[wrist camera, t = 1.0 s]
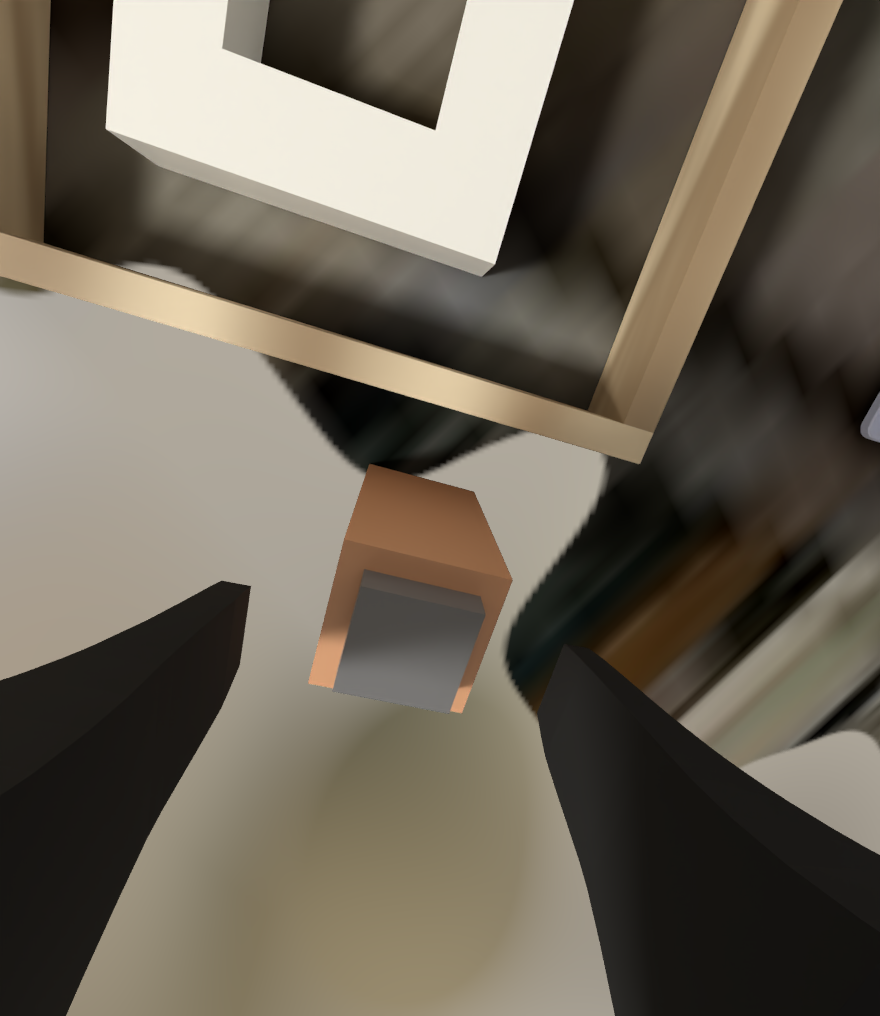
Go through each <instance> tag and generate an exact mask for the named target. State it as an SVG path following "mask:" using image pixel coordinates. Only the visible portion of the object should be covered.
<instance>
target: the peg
mask: <svg viewBox="0 0 880 1016" xmlns="http://www.w3.org/2000/svg"><path fill="white" fill-rule="evenodd" d="M511 583H512V578H511V575H510V573H509V571H508V568H507V566H506V564H505V562H504V559H503V557H502V555H501V552H500V550H499V548H498V546H497V543H496V541H495V539H494V536H493V534H492V532H491V530H490V527H489V525H488V523H487V521H486V518H485V516H484V514H483V511H482V509H481V507H480V504H479V502H478V500H477V498H476V495H475V493H474V492H473V491H469V490H465V489H462V488H458V487H454V486H451V485H447V484H443V483H439V482H436V481H431V480H428V479H425V478H421V477H417V476H413V475H410V474H406V473H402V472H399V471H395V470H391V469H387V468H384V467H380V466H376V465H373V464H369V467H368V470H367V473H366V476H365V479H364V482H363V485H362V488H361V491H360V493H359V496H358V499H357V503H356V505H355V508H354V512H353V515H352V518H351V520H350V523H349V526H348V529H347V532H346V535H345V538H344V542H343V546H342V550H341V554H340V559H339V562H338V566H337V570H336V574H335V578H334V582H333V586H332V590H331V594H330V598H329V602H328V606H327V610H326V614H325V618H324V622H323V626H322V630H321V634H320V638H319V642H318V646H317V650H316V654H315V658H314V662H313V666H312V670H311V674H310V678H309V682H308V683H309V684H314V685H319V686H324V687H329V688H333V692H338V693H343V694H349V695H354V696H359V697H364V698H369V699H375V700H380V701H385V702H390V703H395V704H400V705H406V706H411V707H416V708H421V709H426V710H431V711H437V712H442V713H447V714H449V712H450V711H453V712H458V713H462V711H463V709H464V706H465V704H466V701H467V698H468V695H469V693H470V690H471V688H472V685H473V683H474V680H475V677H476V675H477V672H478V670H479V667H480V664H481V662H482V659H483V656H484V654H485V651H486V649H487V646H488V643H489V641H490V638H491V635H492V633H493V630H494V628H495V625H496V622H497V620H498V617H499V614H500V612H501V609H502V606H503V604H504V601H505V599H506V596H507V594H508V591H509V588H510V585H511Z"/></svg>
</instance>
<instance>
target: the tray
mask: <svg viewBox="0 0 880 1016" xmlns="http://www.w3.org/2000/svg"><path fill="white" fill-rule="evenodd" d="M842 1H843V0H747V2H746V4H745V7H744V9H743V12H742V14H741V17H740V20H739V22H738V25H737V27H736V30H735V32H734V35H733V38H732V40H731V43H730V45H729V48H728V50H727V53H726V56H725V58H724V61H723V63H722V66H721V68H720V71H719V74H718V76H717V79H716V81H715V84H714V86H713V89H712V92H711V94H710V97H709V99H708V102H707V104H706V107H705V110H704V112H703V115H702V117H701V120H700V123H699V125H698V128H697V130H696V133H695V135H694V138H693V141H692V143H691V146H690V148H689V151H688V153H687V156H686V159H685V161H684V164H683V166H682V169H681V171H680V174H679V177H678V179H677V182H676V184H675V187H674V189H673V192H672V195H671V197H670V200H669V202H668V205H667V207H666V210H665V213H664V215H663V218H662V220H661V223H660V225H659V228H658V231H657V233H656V236H655V238H654V241H653V243H652V246H651V249H650V251H649V254H648V256H647V259H646V262H645V264H644V267H643V269H642V272H641V274H640V277H639V280H638V282H637V285H636V287H635V290H634V292H633V295H632V298H631V300H630V303H629V305H628V308H627V310H626V313H625V316H624V318H623V321H622V323H621V326H620V328H619V331H618V334H617V336H616V339H615V341H614V344H613V346H612V349H611V352H610V354H609V357H608V359H607V362H606V364H605V367H604V370H603V372H602V375H601V377H600V380H599V382H598V385H597V388H596V390H595V393H594V395H593V398H592V401H591V403H590V406H589V408H588V411H587V410H584V409H581V408H577V407H574V406H571V405H568V404H564V403H561V402H558V401H555V400H551V399H548V398H545V397H542V396H538V395H535V394H532V393H529V392H525V391H522V390H519V389H516V388H512V387H509V386H506V385H503V384H499V383H496V382H493V381H490V380H487V379H483V378H480V377H477V376H474V375H470V374H467V373H464V372H461V371H457V370H454V369H451V368H448V367H444V366H441V365H438V364H435V363H431V362H428V361H425V360H422V359H418V358H415V357H412V356H409V355H405V354H402V353H399V352H396V351H392V350H389V349H386V348H383V347H379V346H376V345H373V344H370V343H366V342H363V341H360V340H357V339H353V338H350V337H347V336H344V335H340V334H337V333H334V332H331V331H328V330H324V329H321V328H318V327H315V326H311V325H308V324H305V323H302V322H298V321H295V320H292V319H289V318H285V317H282V316H279V315H276V314H272V313H269V312H266V311H263V310H259V309H256V308H253V307H250V306H246V305H243V304H240V303H237V302H233V301H230V300H227V299H224V298H220V297H217V296H214V295H211V294H207V293H204V292H201V291H198V290H194V289H191V288H188V287H185V286H181V285H178V284H175V283H171V282H168V281H165V280H162V279H159V278H155V277H152V276H149V275H146V274H143V273H139V272H136V271H133V270H130V269H126V268H123V267H120V266H117V265H113V264H110V263H107V262H104V261H100V260H97V259H94V258H91V257H87V256H84V255H81V254H78V253H74V252H71V251H68V250H65V249H61V248H58V247H55V246H52V245H48V244H45V243H44V210H45V175H46V141H47V107H48V73H49V39H50V4H51V0H0V276H3V277H6V278H9V279H13V280H16V281H20V282H23V283H26V284H30V285H33V286H37V287H40V288H43V289H47V290H50V291H54V292H57V293H60V294H64V295H67V296H71V297H74V298H77V299H81V300H84V301H87V302H91V303H95V304H98V305H101V306H104V307H108V308H111V309H115V310H118V311H122V312H125V313H128V314H132V315H135V316H138V317H142V318H145V319H149V320H152V321H156V322H159V323H162V324H166V325H169V326H173V327H176V328H179V329H183V330H186V331H189V332H193V333H196V334H199V335H203V336H206V337H210V338H213V339H216V340H220V341H223V342H227V343H230V344H233V345H237V346H240V347H244V348H247V349H250V350H254V351H257V352H260V353H264V354H267V355H271V356H274V357H277V358H281V359H284V360H288V361H291V362H294V363H298V364H301V365H305V366H308V367H311V368H315V369H318V370H321V371H325V372H328V373H332V374H335V375H338V376H342V377H345V378H349V379H352V380H355V381H359V382H362V383H366V384H369V385H372V386H376V387H379V388H383V389H386V390H389V391H393V392H396V393H399V394H403V395H406V396H410V397H413V398H416V399H420V400H423V401H427V402H430V403H433V404H437V405H440V406H444V407H447V408H450V409H454V410H457V411H461V412H464V413H467V414H471V415H474V416H477V417H481V418H484V419H488V420H491V421H494V422H498V423H501V424H505V425H508V426H511V427H515V428H518V429H522V430H525V431H528V432H532V433H535V434H539V435H542V436H545V437H549V438H552V439H555V440H559V441H562V442H566V443H569V444H572V445H576V446H579V447H583V448H586V449H589V450H593V451H596V452H600V453H603V454H606V455H610V456H613V457H617V458H620V459H623V460H627V461H630V462H633V463H637V464H640V463H641V460H642V458H643V456H644V454H645V451H646V449H647V447H648V444H649V442H650V440H651V438H652V435H653V433H654V431H655V428H656V426H657V424H658V422H659V419H660V417H661V415H662V412H663V410H664V408H665V406H666V403H667V401H668V399H669V396H670V394H671V392H672V390H673V387H674V385H675V383H676V380H677V378H678V376H679V374H680V371H681V369H682V367H683V364H684V362H685V360H686V358H687V355H688V353H689V351H690V348H691V346H692V344H693V342H694V339H695V337H696V335H697V333H698V330H699V328H700V326H701V323H702V321H703V319H704V317H705V314H706V312H707V310H708V307H709V305H710V303H711V301H712V298H713V296H714V294H715V291H716V289H717V287H718V285H719V282H720V280H721V278H722V275H723V273H724V271H725V269H726V266H727V264H728V262H729V259H730V257H731V255H732V253H733V250H734V248H735V246H736V243H737V241H738V239H739V237H740V234H741V232H742V230H743V227H744V225H745V223H746V221H747V218H748V216H749V214H750V212H751V209H752V207H753V205H754V202H755V200H756V198H757V196H758V193H759V191H760V189H761V186H762V184H763V182H764V180H765V177H766V175H767V173H768V170H769V168H770V166H771V164H772V161H773V159H774V157H775V154H776V152H777V150H778V148H779V145H780V143H781V141H782V138H783V136H784V134H785V132H786V129H787V127H788V125H789V122H790V120H791V118H792V116H793V113H794V111H795V109H796V106H797V104H798V102H799V100H800V97H801V95H802V93H803V91H804V88H805V86H806V84H807V81H808V79H809V77H810V75H811V72H812V70H813V68H814V65H815V63H816V61H817V59H818V56H819V54H820V52H821V49H822V47H823V45H824V43H825V40H826V38H827V36H828V33H829V31H830V29H831V27H832V24H833V22H834V20H835V17H836V15H837V13H838V11H839V8H840V6H841V4H842ZM269 2H270V0H114V2H113V18H112V34H111V51H110V67H109V83H108V99H107V115H106V130H108V131H109V132H111V133H112V134H113V135H115V136H116V137H118V138H119V139H121V140H122V141H123V142H125V143H126V144H128V145H129V146H130V147H132V148H133V149H135V150H136V151H137V152H139V153H140V154H142V155H143V156H144V157H146V158H147V159H149V160H150V161H152V162H153V163H154V164H156V165H157V166H159V167H162V168H165V169H168V170H171V171H174V172H177V173H180V174H182V175H185V176H188V177H191V178H194V179H197V180H200V181H203V182H206V183H209V184H212V185H215V186H218V187H220V188H223V189H226V190H229V191H232V192H235V193H238V194H241V195H244V196H247V197H250V198H253V199H256V200H258V201H261V202H264V203H267V204H270V205H273V206H276V207H279V208H282V209H285V210H288V211H291V212H294V213H296V214H299V215H302V216H305V217H308V218H311V219H314V220H317V221H320V222H323V223H326V224H329V225H332V226H334V227H337V228H340V229H343V230H346V231H349V232H352V233H355V234H358V235H361V236H364V237H367V238H370V239H372V240H375V241H378V242H381V243H384V244H387V245H390V246H393V247H396V248H399V249H402V250H405V251H408V252H410V253H413V254H416V255H419V256H422V257H425V258H428V259H431V260H434V261H437V262H440V263H443V264H446V265H449V266H451V267H454V268H457V269H460V270H463V271H466V272H469V273H472V274H475V275H478V276H481V277H482V276H483V275H484V274H485V273H486V272H487V271H489V270H490V269H491V268H492V267H493V266H494V265H495V263H496V259H497V256H498V253H499V249H500V246H501V243H502V239H503V236H504V233H505V229H506V226H507V223H508V219H509V216H510V213H511V209H512V206H513V203H514V199H515V196H516V193H517V189H518V186H519V183H520V179H521V176H522V173H523V169H524V166H525V163H526V159H527V156H528V153H529V149H530V146H531V143H532V139H533V136H534V132H535V129H536V126H537V122H538V119H539V116H540V112H541V109H542V106H543V102H544V99H545V96H546V92H547V89H548V86H549V82H550V79H551V76H552V72H553V69H554V66H555V62H556V59H557V56H558V52H559V49H560V46H561V42H562V39H563V36H564V32H565V29H566V26H567V22H568V19H569V16H570V12H571V9H572V6H573V2H574V0H467V4H466V8H465V12H464V16H463V20H462V24H461V28H460V32H459V36H458V40H457V45H456V49H455V53H454V57H453V61H452V65H451V69H450V73H449V77H448V81H447V85H446V90H445V94H444V98H443V102H442V106H441V110H440V114H439V118H438V122H437V126H436V131H435V130H433V129H430V128H427V127H425V126H422V125H420V124H417V123H414V122H412V121H409V120H407V119H404V118H401V117H399V116H396V115H394V114H391V113H388V112H386V111H383V110H381V109H378V108H375V107H373V106H370V105H368V104H365V103H362V102H360V101H357V100H355V99H352V98H349V97H347V96H344V95H342V94H339V93H336V92H334V91H331V90H329V89H326V88H323V87H321V86H318V85H316V84H313V83H310V82H308V81H305V80H303V79H300V78H297V77H295V76H292V75H290V74H287V73H284V72H282V71H279V70H277V69H274V68H271V67H269V66H266V65H264V64H261V58H262V51H263V44H264V37H265V30H266V23H267V16H268V9H269Z"/></svg>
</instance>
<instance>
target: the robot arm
mask: <svg viewBox="0 0 880 1016" xmlns="http://www.w3.org/2000/svg"><path fill="white" fill-rule="evenodd" d="M861 434H862V436H863V437H865V438H867V439H870V440H873V441H876V442H879V443H880V392H879V394H878V395H877V397H876V399H875V401H874V402H873V404H872V406H871V408H870V409H869V411H868V413H867V415H866V416H865V418H864V420H863V422H862V424H861ZM250 589H251V586H247V585H242V584H236V583H231V582H226V581H220V582H218V583H216V584H214V585H212V586H210V587H208V588H207V589H205V590H203V591H201V592H199V593H198V594H196V595H194V596H192V597H190V598H188V599H186V600H185V601H183V602H181V603H179V604H177V605H175V606H173V607H171V608H170V609H168V610H166V611H164V612H162V613H160V614H158V615H156V616H154V617H152V618H150V619H148V620H146V621H144V622H142V623H140V624H138V625H136V626H134V627H132V628H130V629H127V630H125V631H123V632H121V633H119V634H117V635H115V636H112V637H110V638H108V639H106V640H104V641H102V642H100V643H97V644H95V645H93V646H91V647H88V648H86V649H84V650H81V651H79V652H76V653H74V654H71V655H69V656H67V657H64V658H62V659H59V660H56V661H54V662H51V663H48V664H46V665H43V666H40V667H38V668H35V669H33V670H30V671H27V672H24V673H21V674H18V675H16V676H13V677H10V678H6V679H3V680H1V681H0V1016H66V1014H67V1012H68V1010H69V1007H70V1005H71V1003H72V1001H73V998H74V996H75V994H76V992H77V989H78V987H79V985H80V982H81V980H82V978H83V976H84V973H85V971H86V969H87V967H88V964H89V962H90V960H91V958H92V956H93V954H94V952H95V949H96V947H97V945H98V943H99V941H100V938H101V936H102V934H103V932H104V930H105V927H106V925H107V923H108V921H109V918H110V916H111V914H112V912H113V910H114V908H115V905H116V903H117V901H118V899H119V897H120V895H121V892H122V890H123V888H124V886H125V884H126V882H127V880H128V878H129V875H130V873H131V871H132V869H133V867H134V865H135V863H136V861H137V858H138V856H139V854H140V852H141V850H142V848H143V846H144V844H145V841H146V839H147V837H148V836H149V834H150V832H151V830H152V828H153V826H154V824H155V823H156V821H157V819H158V817H159V815H160V813H161V811H162V810H163V808H164V806H165V804H166V803H167V801H168V799H169V798H170V796H171V794H172V792H173V791H174V789H175V787H176V785H177V784H178V782H179V780H180V779H181V777H182V775H183V773H184V772H185V770H186V768H187V767H188V765H189V763H190V761H191V760H192V758H193V756H194V755H195V753H196V751H197V749H198V748H199V746H200V744H201V742H202V741H203V739H204V737H205V735H206V734H207V732H208V730H209V728H210V727H211V725H212V723H213V721H214V720H215V718H216V716H217V714H218V713H219V711H220V709H221V707H222V705H223V703H224V700H225V698H226V696H227V694H228V691H229V689H230V687H231V684H232V682H233V680H234V677H235V675H236V673H237V670H238V668H239V665H240V659H241V652H242V644H243V638H244V631H245V624H246V617H247V610H248V603H249V595H250ZM537 715H538V721H539V726H540V732H541V738H542V743H543V747H544V753H545V757H546V760H547V763H548V767H549V770H550V773H551V776H552V779H553V783H554V786H555V789H556V792H557V795H558V798H559V801H560V804H561V807H562V810H563V813H564V816H565V819H566V822H567V825H568V828H569V831H570V834H571V837H572V840H573V843H574V846H575V849H576V852H577V855H578V858H579V861H580V865H581V868H582V872H583V875H584V879H585V882H586V886H587V890H588V893H589V898H590V903H591V907H592V911H593V915H594V920H595V924H596V928H597V932H598V936H599V941H600V946H601V950H602V955H603V960H604V965H605V969H606V974H607V979H608V984H609V989H610V994H611V998H612V1003H613V1008H614V1013H615V1016H880V855H879V854H877V853H875V852H873V851H871V850H869V849H867V848H865V847H864V846H862V845H860V844H859V843H857V842H855V841H853V840H852V839H850V838H848V837H846V836H844V835H843V834H841V833H839V832H838V831H836V830H834V829H832V828H831V827H829V826H827V825H826V824H824V823H823V822H821V821H819V820H818V819H816V818H814V817H813V816H811V815H809V814H808V813H806V812H805V811H803V810H801V809H800V808H798V807H797V806H795V805H793V804H791V803H790V802H788V801H787V800H785V799H784V798H782V797H781V796H779V795H778V794H776V793H775V792H773V791H771V790H770V789H768V788H767V787H765V786H764V785H762V784H761V783H760V782H758V781H757V780H755V779H754V778H752V777H751V776H749V775H748V774H747V773H745V772H744V771H742V770H741V769H739V768H738V767H737V766H735V765H734V764H732V763H731V762H729V761H728V760H727V759H725V758H724V757H723V756H721V755H720V754H718V753H717V752H716V751H714V750H713V749H712V748H710V747H709V746H708V745H707V744H705V743H704V742H703V741H701V740H700V739H699V738H698V737H696V736H695V735H694V734H692V733H691V732H690V731H689V730H687V729H686V728H685V727H684V726H682V725H681V724H680V723H679V722H677V721H676V720H675V719H674V718H672V717H671V716H670V715H669V714H668V713H666V712H665V711H664V710H663V709H662V708H660V707H659V706H658V705H657V704H656V703H654V702H653V701H652V700H651V699H650V698H649V697H647V696H646V695H645V694H644V693H643V692H642V691H640V690H639V689H638V688H637V687H636V686H634V685H633V684H632V683H631V682H630V681H629V680H627V679H626V678H625V677H624V676H623V675H622V674H620V673H619V672H618V671H617V670H616V669H614V668H613V667H612V666H611V665H610V664H608V663H607V662H606V661H605V660H603V659H602V658H601V657H600V656H598V655H597V654H596V653H594V652H593V651H591V650H590V649H588V648H583V647H577V646H572V645H566V644H564V646H563V649H562V651H561V654H560V656H559V659H558V661H557V664H556V666H555V669H554V672H553V674H552V677H551V679H550V682H549V684H548V687H547V689H546V692H545V695H544V697H543V700H542V702H541V705H540V707H539V710H538V712H537Z"/></svg>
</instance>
